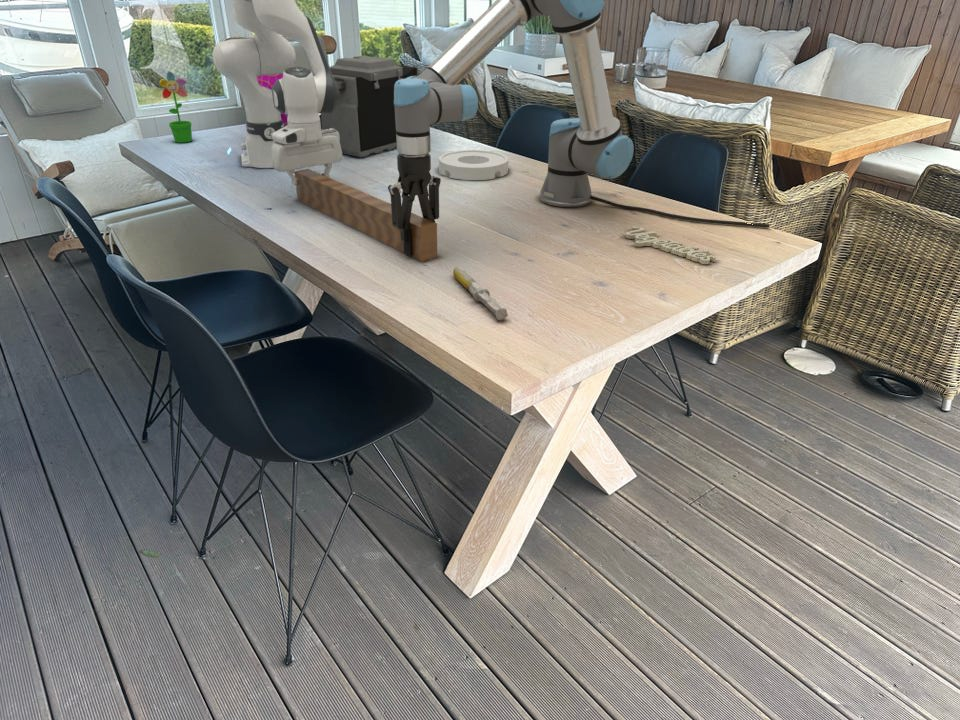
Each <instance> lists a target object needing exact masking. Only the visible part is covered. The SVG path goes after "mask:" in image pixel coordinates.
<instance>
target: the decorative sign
mask: <svg viewBox="0 0 960 720" xmlns="http://www.w3.org/2000/svg"><path fill="white" fill-rule="evenodd" d="M624 238H626V239H629V240H630V239H631V240H634V247H636V248H639V247H653V248H655V249H660V250H661V251H663V252H667V253H671V254H673V255H677V256H679V257H685V259H687V260H691V261H693V262H696V263H697V262H698V263H700V264H702V265H709V264H710V261H711V262H712V263H715V262H716V258H717V257H716V256H715V255H711V254H710V250H709V249H700V247H699V246H697V245H696V246H686V247H685V246H684V245H683V243H682V242H681V241H677V240H676V241H675V240H673V239H667V240H666V239H662V238H658V237H657V232H656V231H645V228H643V227H639V226H631V229H630V231H625V234H624ZM709 254H710V255H709Z"/></svg>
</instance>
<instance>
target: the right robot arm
mask: <svg viewBox="0 0 960 720" xmlns="http://www.w3.org/2000/svg"><path fill="white" fill-rule="evenodd" d="M605 4H606V2H605V0H495V1H494V2H493V3H492V4H491V5H490V6H489V7H488V8H487V9H486V10H485V11H484V12H483V13H482V14H480V16H478V18H477V19H475V21H474V22H472V24H471V25H470V26H468V27H467V28H466V30H464V32H462V34H460V35H459V36H458V37H457V38H456V39H455V40H454V41H453V42H452V43H451V44H449V46H448V47H446V49H445V50H444V51H443V52H442V53H441V54H439V55H438V56H437V58H436V59H434V60H433V61H432V62H431V63H430V65H428V66H427V67H426V68H425V69H424V70H423V71H422V72H421V73H420V74H418V76H416V75H415V76H410V77H408V78H406V79H400V80H398V81H397V82H396V83H395V85H394V106H395V123H396V143H397V146H396V152H397V153H398V154H397V155H396V164H397V172H398V178H397V182H395V184H389V185H388V186H387V190H388V192H389V195H390V204H391V211H392V225H393V226H394V227H396V228H399V229H400V235H401V241H402V242H403V246H404V253H403V254H405V255H407V256H409V257H411V256H413V243H412V229H410V228H409V224H410V218H411V213H412V211H413V203H414V202H415V199H416V196H417V198H418V203H419V207H420V211H421V217H423V218H425V219H427V220H430V221H432V222H435V223H436V220H438V219H440V185H441V183H442V179H441V177H438V176H435V175H432V174H431V170H432V161H431V159H432V158H431V154H430V153H431V125H436V124H443V123H451V122H463V121H466V120H470V119H473V118H474V117H475V116H476V114H477V112H478V110H479V97H478V93H477V91H476V89H475V88H474V87H473V86H472V85H470V84H461V81H462V80H463V79H464V78H465V77H467V75H468V74H470V72H472V71H473V70H474V69H475V68H476V67H477V66H478V65H479V64H480V63H481V62H482V61H483V60H484V59H485V58H486V57H487V56H488V55H489V54H490V53H491V52H492V51H493V50H494V49H495V48H496V47H497V46H498V45H499V44H500V43H501V42H502V41H503V40H505V39H506V37H508V36H509V35H510V34H511V33H512V32H513V31H514V30H516V28H517V27H518V26H520V27H524V26H525V25H527V23H528V22H529V21H531V20H532V19H533V18H535V17H538V16H541V15H542V16H543V15H544V16H549V20H550V24H551V29H552V32H553V33H554V34H556V35H558V36H560V38H561V43H562V48H563V53H564V57H565V62H566V67H567V70H568V76H569V79H570V84H571V88H572V93H573V97H574V103H575V107H576V112H577V116H578V117H573V118H571V117H570V118H562V119H556V120H554V121H553V122H552V123H551V124H550V129H549V130H550V131H549V134H548V137H549V138H548V156H547V158H548V159H547V173H546V176H545V178H544V181H543V184H542V187H541V189H540V193H539V200H540V202H542V203H543V204H546V205H549V206H553V207H558V208H559V207H560V208H580V207H584V206H588V205H589V204H591V203H592V201H596V202H600V203H603V204H606V205H609V206H611V207H615V208H619V209H625V210H632V211H639V212H644V213H645V212H646V213H650V214H654V215H659V216H663V217H667V218H672V219H678V220H682V221H683V220H684V221H691V222H697V223H698V222H699V223H707V224H715V225H716V224H718V225H728V226H729V225H730V226H743V227H755V228H766V229H768V228H769V229H770V225H771V224H769V223H761V222H759V223H757V222H750V223H751V224H747V223H749V222H747V221H734V220H721V219H710V218H700V217H693V216H687V215H678V214H675V213H668V212H665V211H661V210H657V209H652V208H646V207H641V206H633V205H625V204H620V203H616V202H613V201H610V200H607V199H604V198H601V197H597V196H593V193H592V188H591V184H590V179H589V174H590V175H593V176H595V177H598V178H602V179H604V178H605V179H607V180H608V179H609V180H612V179H617V178H618V177H620V176H621V175H622V174H624V173H625V172H626V170H627V169H628V168H629V167H630V164H631V162H632V160H633V158H634V151H635V150H634V149H635V147H634V143H633V140H632V139H631V138H630V137H629V136H627V135H626V134H625V135H624V134H623V131H622V126H621V121H620V119H619V118H617V117H615V116H614V115H613V109H612V104H611V100H610V93H609V88H608V82H607V77H606V71H605V68H604V67H605V66H604V61H603V56H602V50H601V46H600V40H599V39H600V38H599V34H598V29H597V25H598V23H599V22H600V20H601V18H602V14H601V13H602V12H601V11H602V10H603V8H604V6H605ZM401 190H402V191H401ZM745 222H746V223H745ZM752 224H753V225H752Z"/></svg>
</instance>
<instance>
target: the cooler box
mask: <svg viewBox="0 0 960 720" xmlns="http://www.w3.org/2000/svg"><path fill="white" fill-rule="evenodd" d="M329 68H330V71H331V73H332V75H333V77H334V79H335V81H336V84H337V86H338V89H339V93H340V103H339V105H338V107H337V108H336V109H335V110H334V111H333V112H332V113H320V114H319V117H320V122H321V129H329V128H334V129H335V130H337V131H338V132H339V137H340V141H339V142H340V145H341V150H342V154H344V155H348V156H353V157H357V158H362V159H363V158H366V157H367V158H368V157H369V155H371V154H375V155H377V154H381V153H382V152H383V151H391V150H395V149H396V148H397V143H396V123H395V106H394V85H395V83H396V82H397V81H398V80H400V79H406V78H408V77H410V76H415V75H416V76H419V68H418V67H417V66H408V65H400V64H396V62H395V60H394V59H393V58H385V57H377V56H367V55H356V56H353V57H350V58H349V57H343V58H342V57H341V58H337V59H336V60H335V63H334V64H333V65H330V66H329ZM312 73H313V76H315V75H314V72H313V71H312ZM334 132H335V131H334Z"/></svg>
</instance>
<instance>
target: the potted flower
mask: <svg viewBox="0 0 960 720" xmlns="http://www.w3.org/2000/svg"><path fill="white" fill-rule="evenodd" d="M165 77H166V79H164V78H161V79H159V84H158V85H159V86H160V87H161V88H164V89H163V90H162V93H161V95H162V98H163V99H169V98H170V97H171V95H172V96H173V100H174V105H175V108H170V109H169V110H168V112H169V113H171V114H173V115H177V119H178V120H176V121H175V120H174V121H171V122H169V123H168V125H169V128H170V130H171V133H172V136H173V139H174V142H175V143H180V144H181V143H189V142H192V141H193V133H192V122H191V121H189V120H181V116H180V111H179V109H180V108H181V107H182V106H183V103H181V102H179V103H178V102H177V96H176V94H177V95H178V96H179V97H183V98H184V97H188V93H187V91H186V89H184V88H183V87H184V86H185V85H186V84H187V83H188V81H187V80H186V79H185V78H183V77H182V78H181V77H180V78H176V76H175V74H174V73H173V71H170V70H168V71H167V72H166V76H165Z"/></svg>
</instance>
